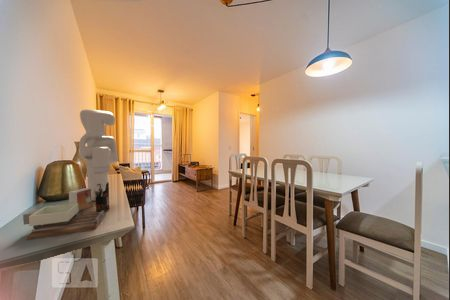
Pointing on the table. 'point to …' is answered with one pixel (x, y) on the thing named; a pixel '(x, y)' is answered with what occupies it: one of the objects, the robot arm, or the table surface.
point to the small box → (81, 198)
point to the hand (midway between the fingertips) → (102, 200)
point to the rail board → (68, 226)
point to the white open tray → (51, 215)
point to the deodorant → (106, 200)
